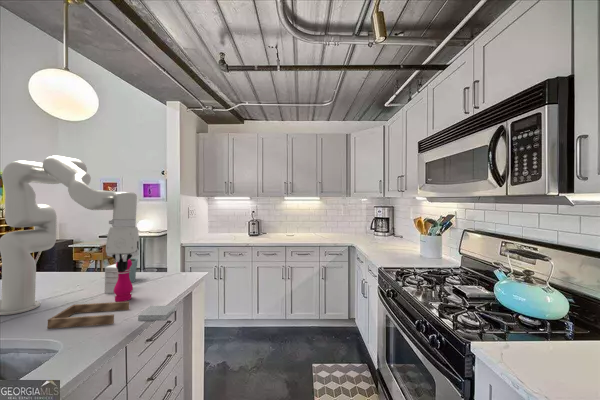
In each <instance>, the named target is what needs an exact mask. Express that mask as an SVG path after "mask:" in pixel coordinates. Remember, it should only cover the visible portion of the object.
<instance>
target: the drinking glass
mask: <svg viewBox="0 0 600 400" xmlns="http://www.w3.org/2000/svg"><path fill="white" fill-rule="evenodd" d="M130 260H131V261H132V266H131V267H130V272H129V278H130V281H131V283H132V284H133V283H134V282H136V278H137V277H136V276H137V275H136V274H137V268H138V261H139V260H138V258H135V257H134V258H133V257H131V258H130ZM116 263H117V261H116V260H115V264H116Z"/></svg>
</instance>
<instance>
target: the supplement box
mask: <svg viewBox="0 0 600 400" xmlns="http://www.w3.org/2000/svg"><path fill="white" fill-rule="evenodd" d="M117 270H118V269H117V267H116V263H114V264H111V265H107V266H105V267H104V294H114V287H115V285H116V283H117V281H118V273H117Z"/></svg>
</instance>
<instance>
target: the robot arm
mask: <svg viewBox="0 0 600 400" xmlns="http://www.w3.org/2000/svg"><path fill="white" fill-rule="evenodd" d="M1 175H2V176H1V177H2V179H1V180H2V185H3V187H4V192H5V199H4V220H5V222H6V225H7V226H9V227H11V228H28V227H29V228H30V227H31V228H32V227H33V228H34V229H25V230H14V231H10V232H7V233H5V234H3V235H2V236H1V237H0V257H1V289H0V290H1V293H0V294H1V295H0V296H1V297H0V316H10V315H15V314H16V315H17V314H21V313H25V312H28V311H29V312H30V311H32V310H34V309H36V308H39V307H40V305H41V301H39V300H36V288H37V287H36V286H37V285H36V284H37V282H36V280H37V278H36V277H37V263H36V260H35V258H34V257H33V256H32V253H37V252H43V251H48V250H50V249H52V248H53V247H54V246H55V244H56V243H57V242H56V241H57V219H58V217H57V212H56V210H55V209H54V207H53V206H51V205H49V204H45V203H37V202H36V191H35V190H34V188H33V187H32V186H31V184H30V183H32V184H34V183H35V184H48V185H58V184H62V185H64V186H65V187H67V192H68V195H69V197H70V199H72V201H74V202H76V203H77V205H80V206H82V207H83V208H85V209H86V210H91V211H112V220H108V224H109V225H111V226H112V227H111V226H110V227H109V228H108V233H107V237H106V241H105V253H106V256H107V257H111V258H113V259H114V260H115V262H116V261H117V269H118V272H124V271H126V269H127V266H128V260H129V259H130V258H133V257H134V258H135V257H137V256H139V249H140V235H139V228H138V227H136V226H137V224H136V223H137V208H138V207H137V205H138V195H137V193H136V192H128V191H116V190H104V189H103V190H102V189H101V190H99V189H94V188H92V187H90V186H89V185H90V184H91V178H92V177H91V175H90V173H88V167H87V165H86V164H85V163H84V162H83V161H82V160H80V159H77V158H73V157H67V156H62V155H52V156H51V155H50V156H48V157H46V158H45V159H44V160H42V162H37V161H29V160H16V161H12V162H9V163H8V164H6V166H5V167H4V169H3V170H2V174H1ZM123 255H124V257H123V258H122V256H123Z"/></svg>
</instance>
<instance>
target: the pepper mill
mask: <svg viewBox="0 0 600 400" xmlns="http://www.w3.org/2000/svg"><path fill="white" fill-rule="evenodd" d="M123 257H124V254H122V258H123ZM115 264H116V267H117V263H116V262H115ZM131 266H132V261H131V260H130V259H129V260H128V266H127V269H126V271H124V272H118V270H117V273H118V281H117V283H116V285H115V287H114V293H113V294H114V295H115V296H114V302H129V301H130V300H131V299H132V298H133V297H132V292H133V291H134V290H133V289H134V286H133V282H132V283H131V281H130V278H129V272H130V267H131Z"/></svg>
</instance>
